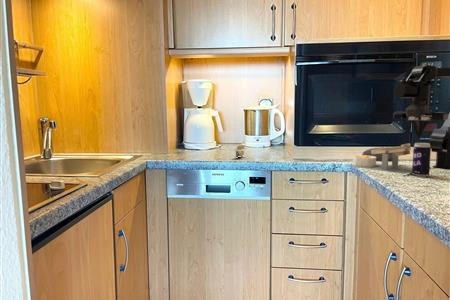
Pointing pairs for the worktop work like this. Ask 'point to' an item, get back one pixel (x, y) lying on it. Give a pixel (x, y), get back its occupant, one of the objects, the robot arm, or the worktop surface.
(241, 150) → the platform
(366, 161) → the beige round puck
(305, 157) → the worktop surface
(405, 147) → the wooden tray
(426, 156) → the beverage can
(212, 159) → the worktop surface
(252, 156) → the worktop surface
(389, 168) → the launcher base
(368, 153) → the perforated stone tool
